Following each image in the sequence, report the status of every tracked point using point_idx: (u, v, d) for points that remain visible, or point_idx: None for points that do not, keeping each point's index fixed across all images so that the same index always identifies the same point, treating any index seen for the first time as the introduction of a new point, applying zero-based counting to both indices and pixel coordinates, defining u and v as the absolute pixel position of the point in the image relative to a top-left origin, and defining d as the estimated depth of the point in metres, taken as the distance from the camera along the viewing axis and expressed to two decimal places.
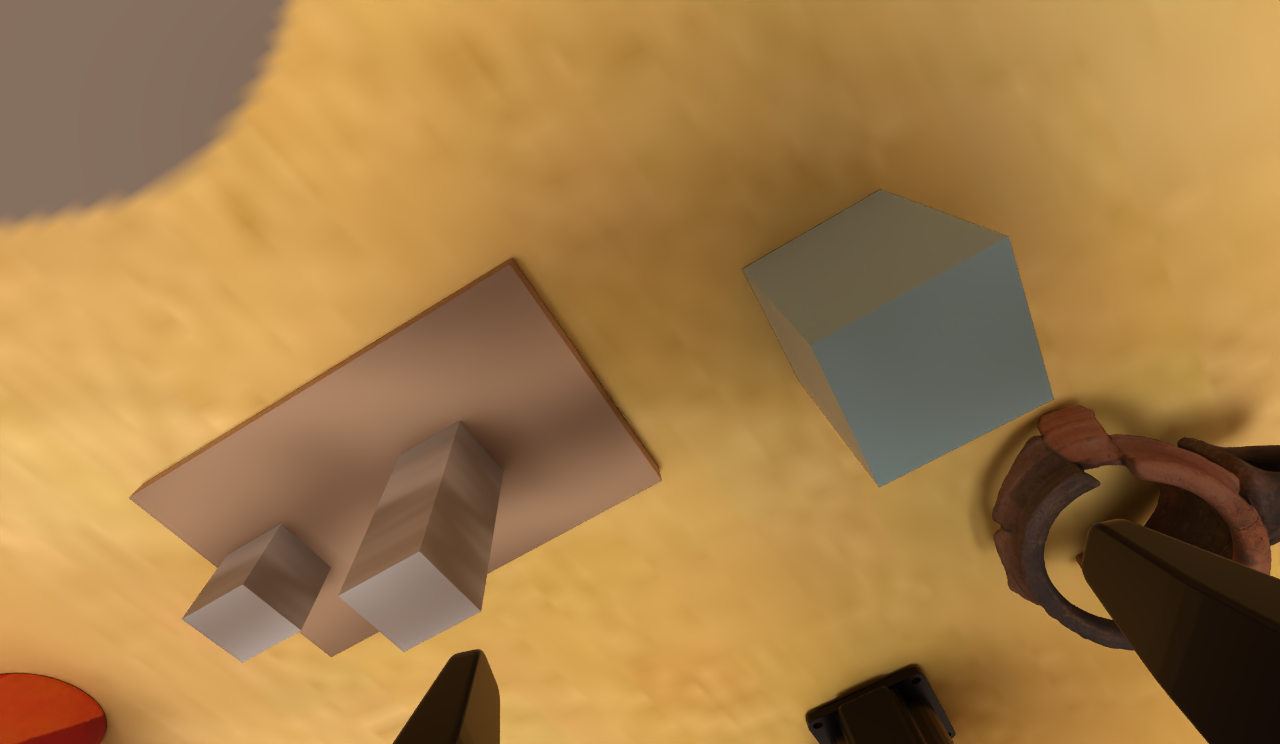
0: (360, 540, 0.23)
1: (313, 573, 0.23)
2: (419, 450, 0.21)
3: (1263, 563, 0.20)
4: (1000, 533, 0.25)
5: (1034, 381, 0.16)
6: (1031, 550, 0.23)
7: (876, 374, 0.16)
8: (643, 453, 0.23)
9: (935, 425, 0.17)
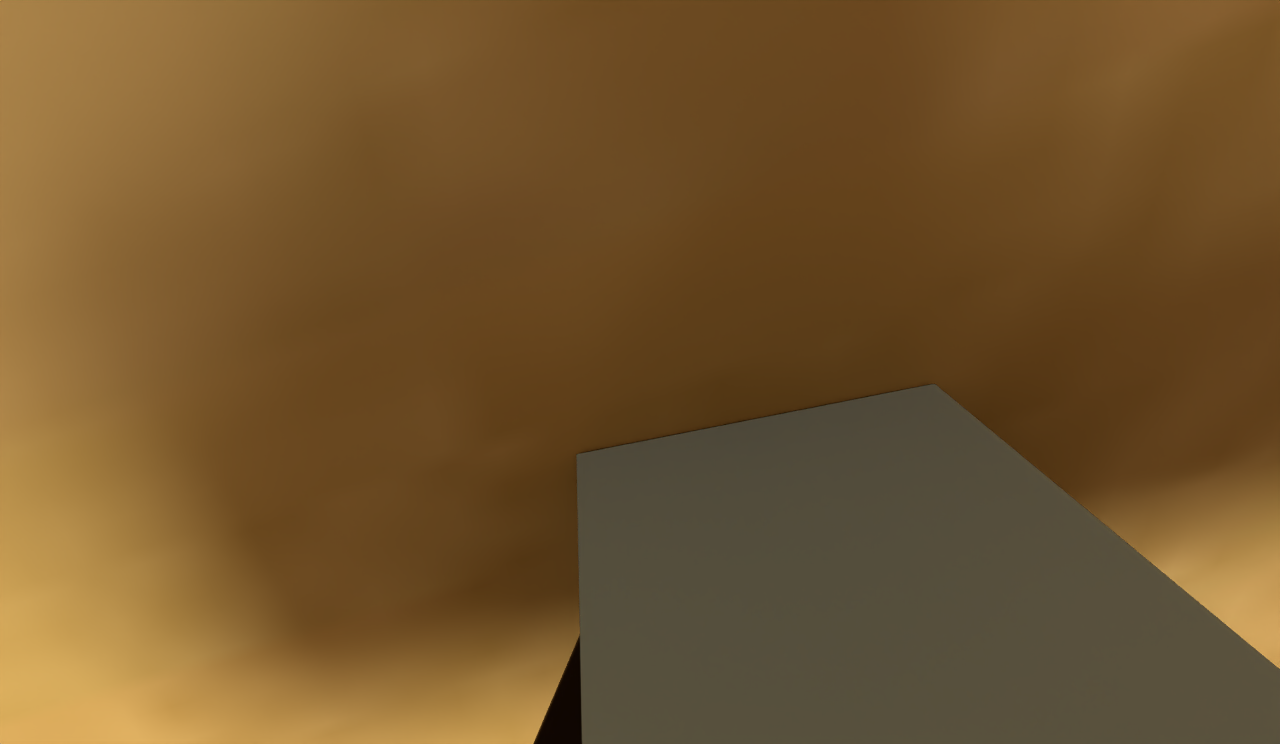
0: None
1: None
2: None
3: None
4: None
5: None
6: None
7: None
8: None
9: None
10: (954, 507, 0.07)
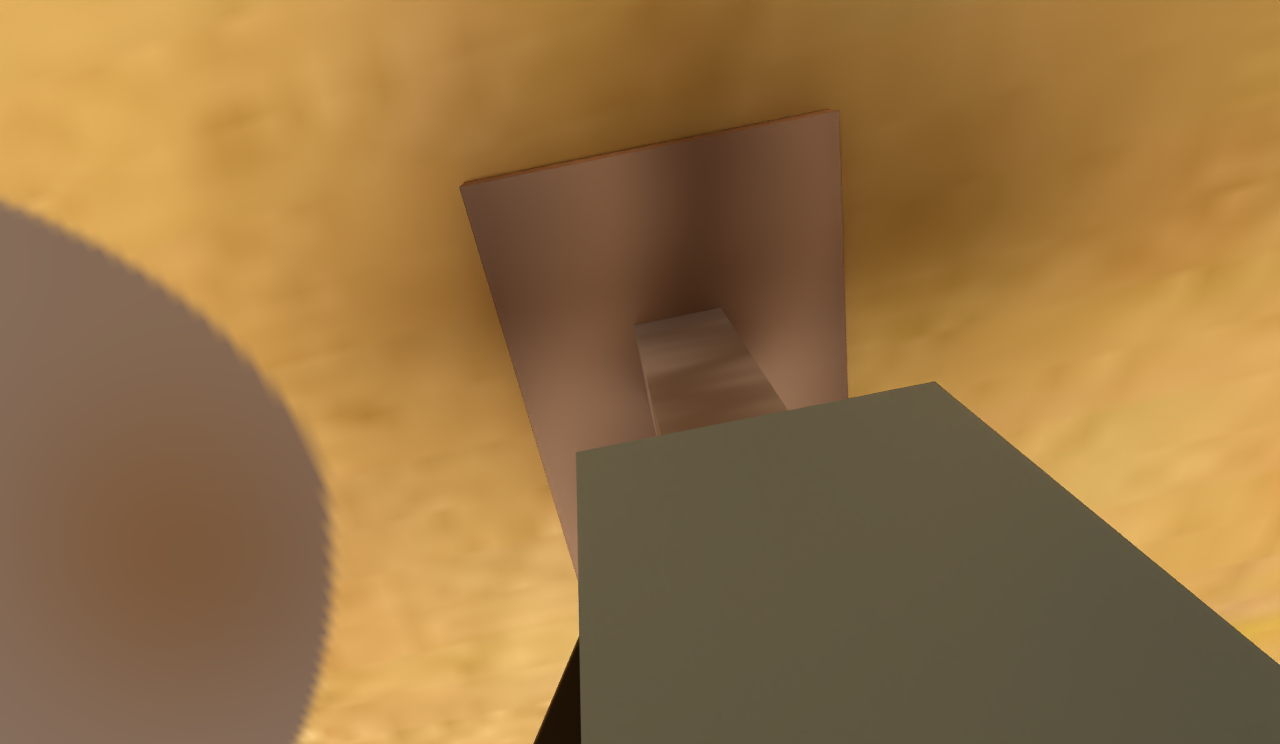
0: None
1: None
2: None
3: None
4: None
5: None
6: None
7: None
8: (785, 121, 0.16)
9: None
10: (954, 504, 0.06)
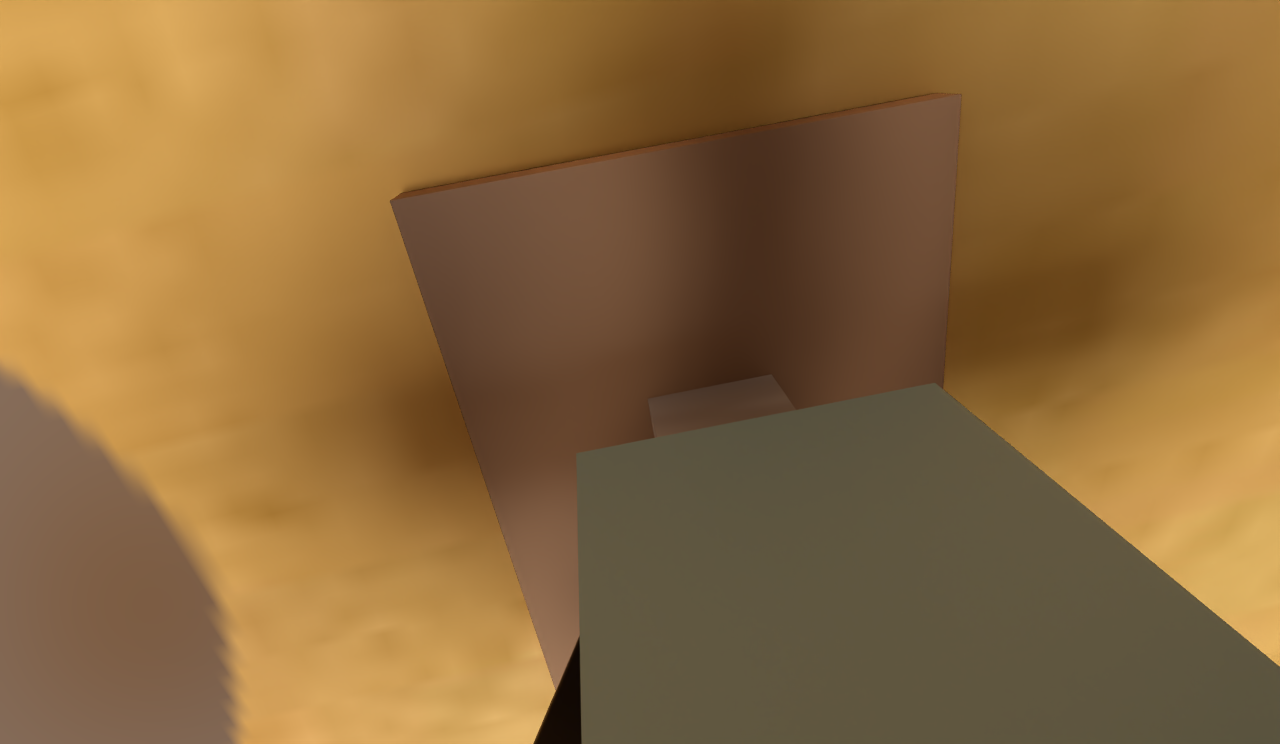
0: None
1: None
2: None
3: None
4: None
5: None
6: None
7: None
8: (880, 108, 0.11)
9: None
10: (955, 506, 0.06)
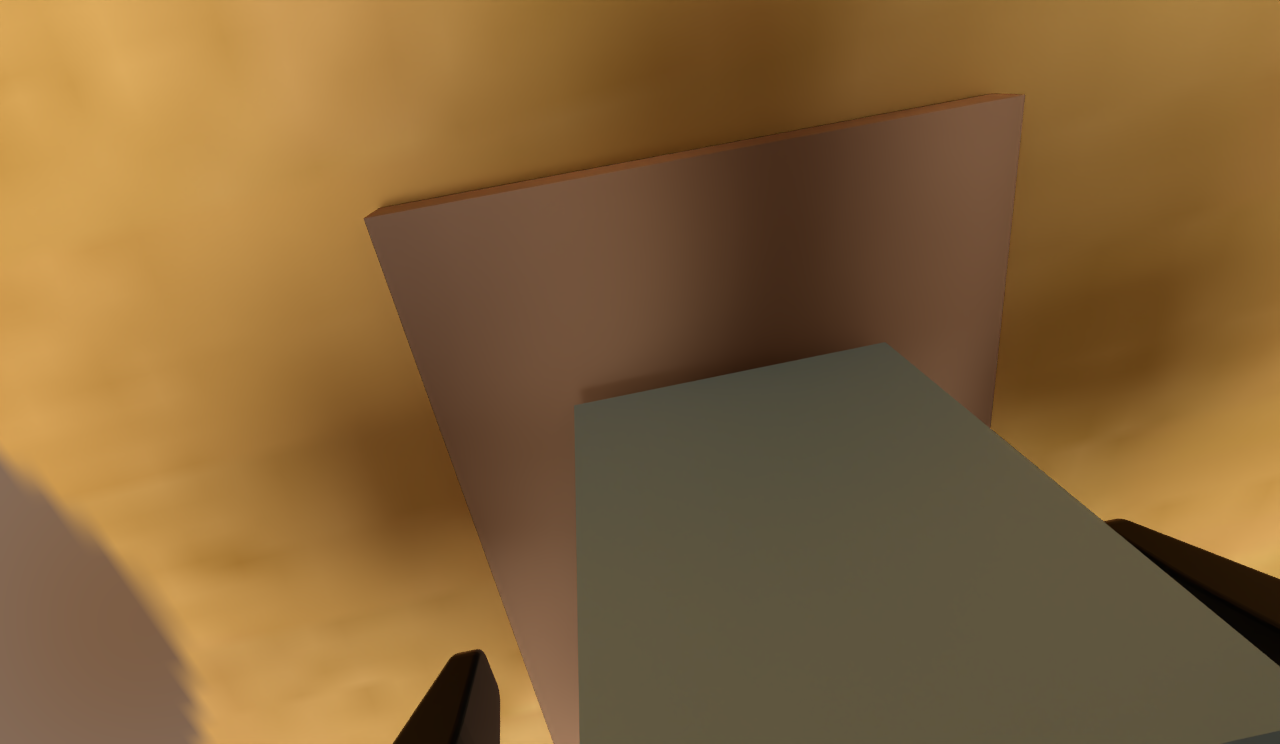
0: None
1: None
2: None
3: None
4: None
5: None
6: None
7: None
8: (930, 111, 0.09)
9: None
10: (887, 433, 0.08)
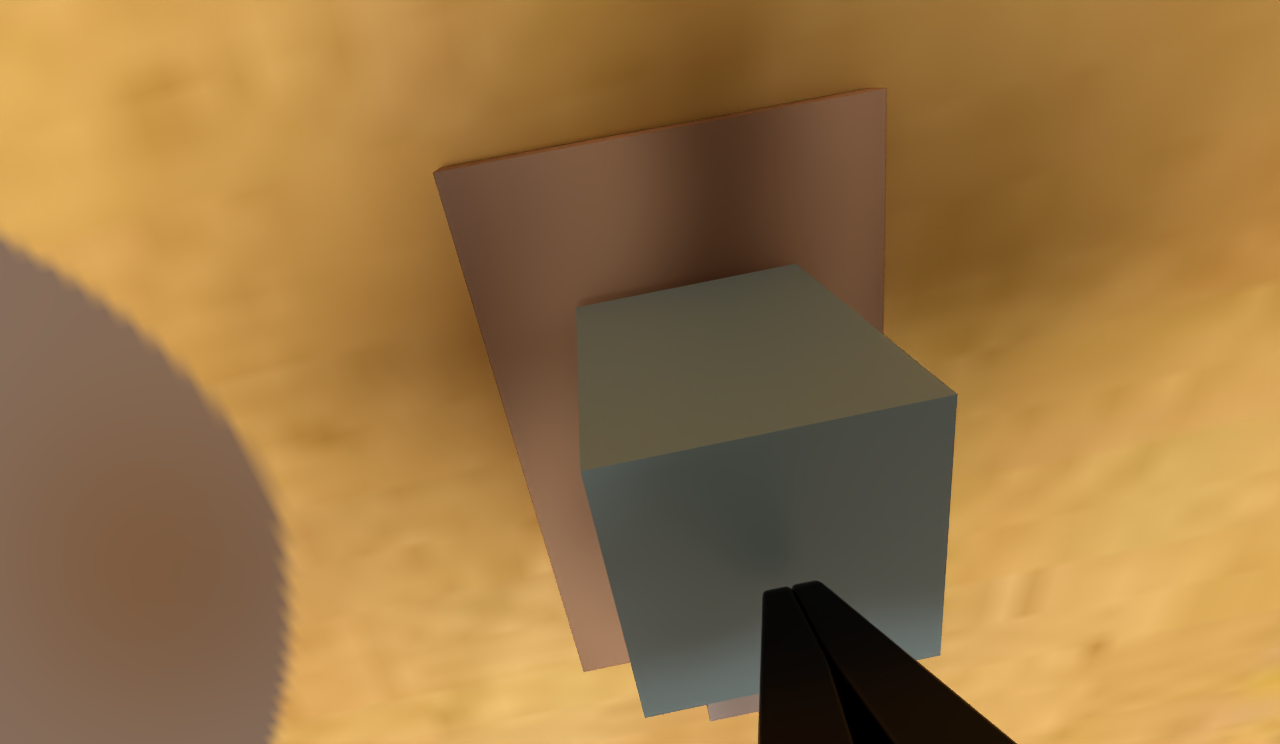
0: None
1: None
2: None
3: None
4: None
5: (894, 428, 0.08)
6: None
7: (736, 650, 0.10)
8: (822, 100, 0.13)
9: (879, 580, 0.10)
10: (780, 308, 0.12)
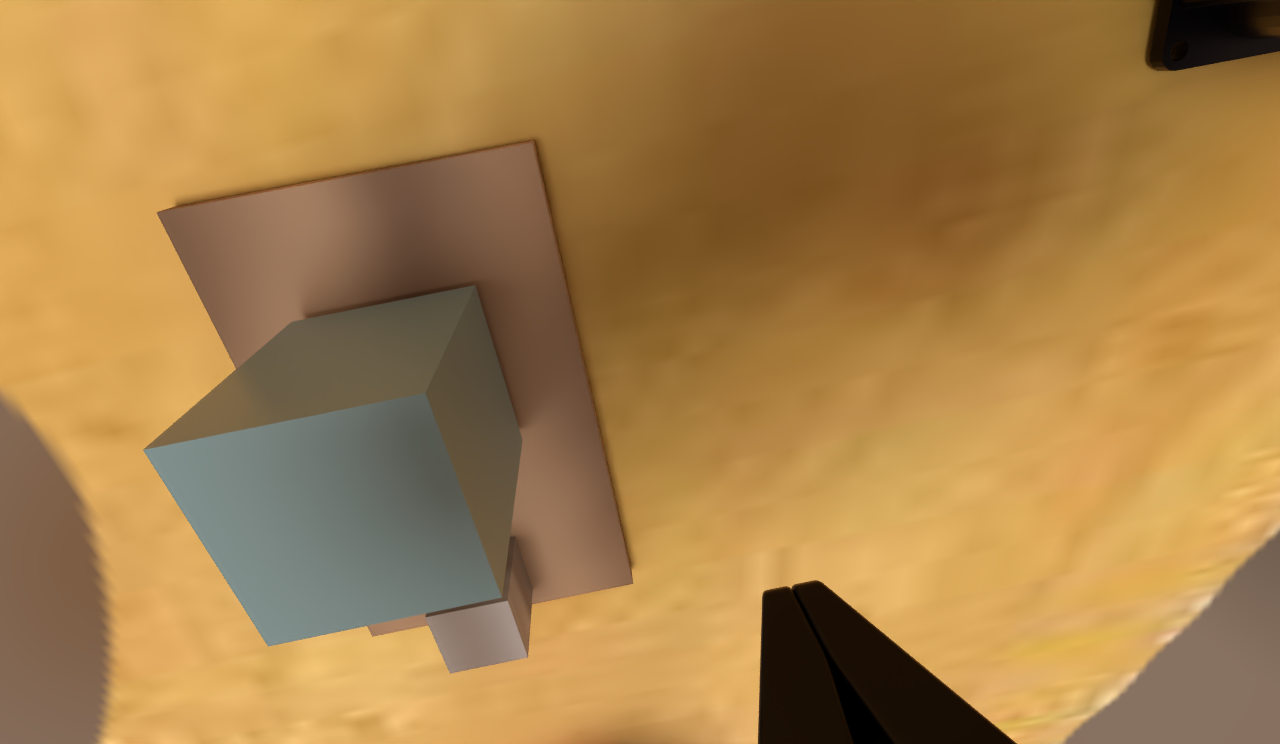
0: None
1: None
2: None
3: None
4: None
5: (384, 418, 0.11)
6: None
7: (324, 591, 0.13)
8: (481, 151, 0.16)
9: (423, 535, 0.13)
10: (414, 324, 0.15)
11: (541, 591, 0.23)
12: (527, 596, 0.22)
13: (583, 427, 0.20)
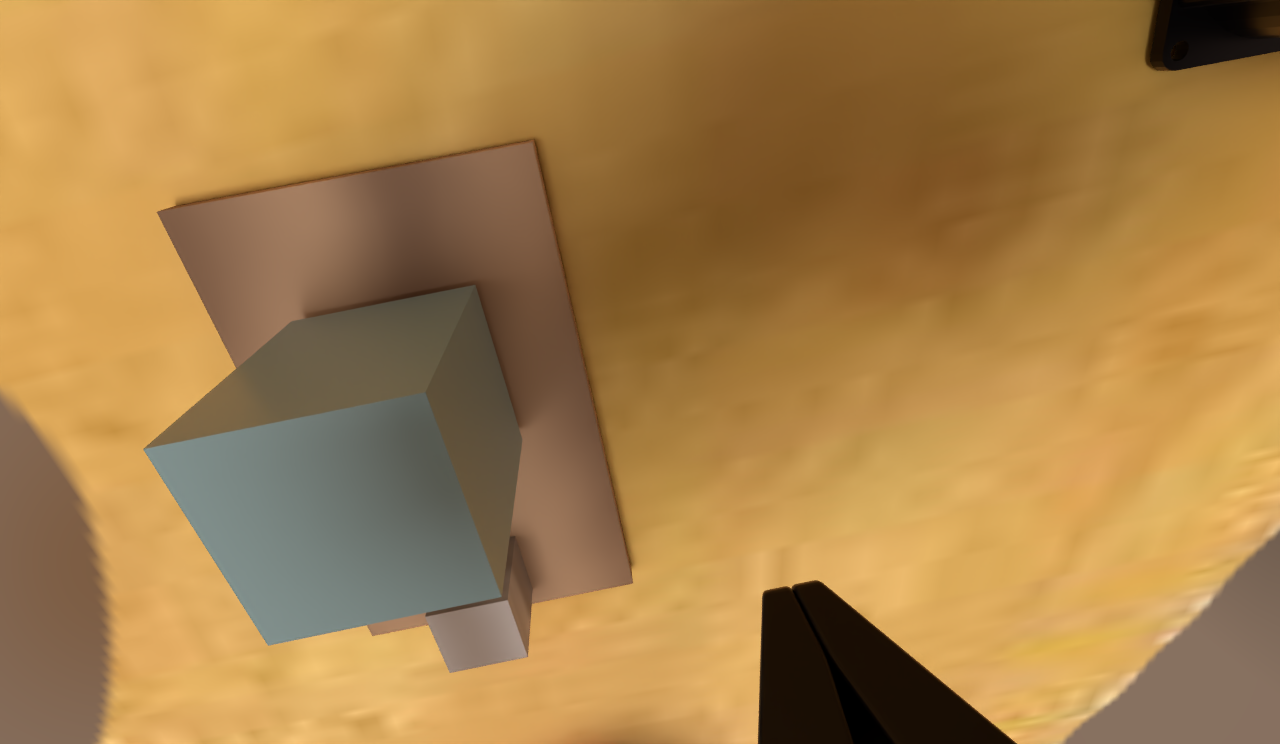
0: None
1: None
2: None
3: None
4: None
5: (384, 417, 0.11)
6: None
7: (324, 590, 0.13)
8: (481, 151, 0.16)
9: (423, 535, 0.13)
10: (414, 324, 0.15)
11: (541, 591, 0.23)
12: (527, 596, 0.22)
13: (583, 427, 0.20)
